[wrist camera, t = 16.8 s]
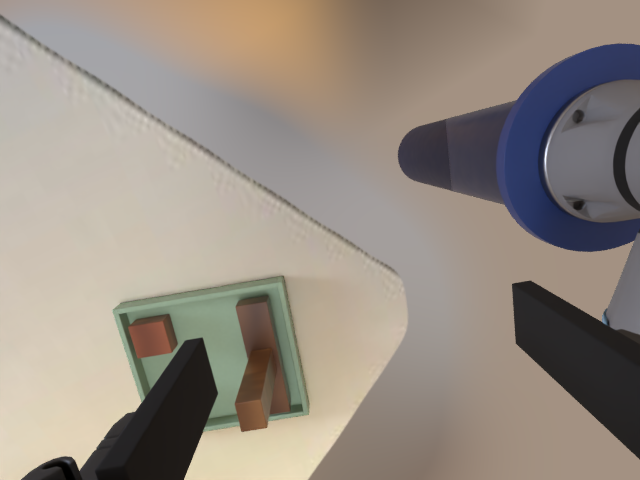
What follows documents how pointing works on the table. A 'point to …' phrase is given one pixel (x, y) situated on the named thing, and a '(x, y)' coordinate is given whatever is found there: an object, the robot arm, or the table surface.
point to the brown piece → (260, 366)
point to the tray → (217, 342)
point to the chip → (153, 336)
